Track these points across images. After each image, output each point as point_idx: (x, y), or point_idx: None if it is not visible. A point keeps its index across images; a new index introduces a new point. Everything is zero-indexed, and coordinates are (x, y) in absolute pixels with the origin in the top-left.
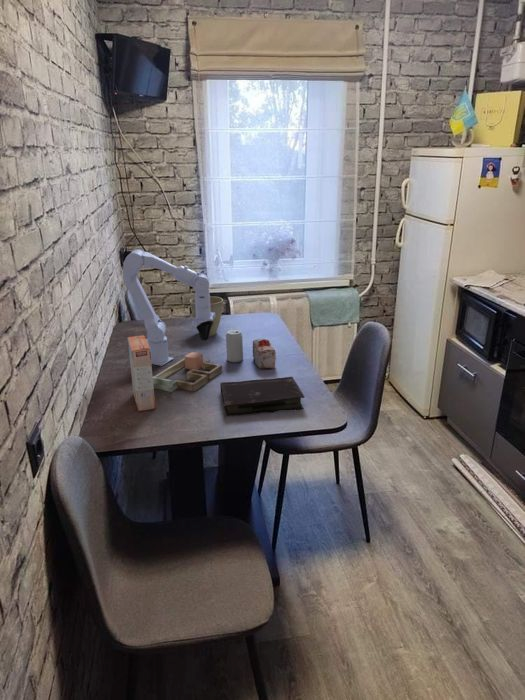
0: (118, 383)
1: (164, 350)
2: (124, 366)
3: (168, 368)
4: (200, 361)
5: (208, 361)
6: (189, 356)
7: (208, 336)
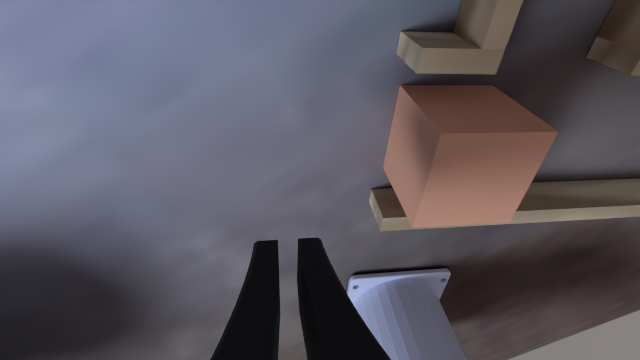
0: (625, 283)
1: (438, 340)
2: (465, 344)
3: (590, 213)
4: (458, 106)
5: (434, 45)
6: (509, 195)
7: (264, 268)
